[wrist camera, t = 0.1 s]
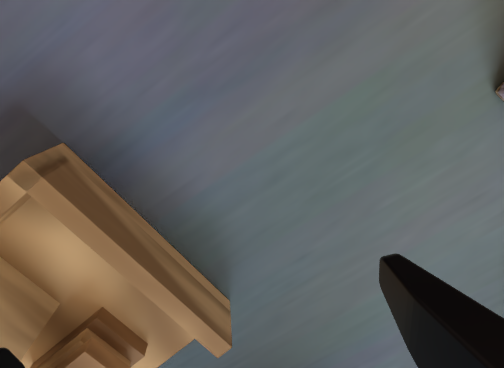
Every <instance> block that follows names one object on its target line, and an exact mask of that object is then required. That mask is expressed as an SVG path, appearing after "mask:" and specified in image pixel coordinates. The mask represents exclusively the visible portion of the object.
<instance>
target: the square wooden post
mask: <svg viewBox="0 0 504 368" xmlns="http://www.w3.org/2000/svg"><path fill="white" fill-rule="evenodd" d="M59 305H60V303H59V302H57V301H56V300H55V299H54V298H52V297H51V296H50V295H48V294H47V293H46V292H45V291H43V290H42V289H41V288H40V287H38V286H37V285H36V284H34V283H33V282H32V281H31V280H29V279H28V278H27V277H25V276H24V275H23V274H22V273H20V272H19V271H18V270H16V269H15V268H14V267H13V266H11V265H10V264H9V263H8V262H6V261H5V260H4V259H2V258H1V257H0V348H2V347H4V348H7V349H9V350H10V351H11V352H12V353H13V354H14V355H15V356H16V357H17V358H18V359H19V360H20V361H21V359H22V358H23V357H24V355H25V354H26V352H27V351H28V349H29V348H30V347H31V345H32V344H33V342H34V341H35V339H36V338H37V336H38V335H39V334H40V332H41V331H42V329H43V328H44V326H45V325H46V323H47V322H48V321H49V319H50V318H51V316H52V315H53V313H54V312H55V310H56V309H57V308H58V306H59Z"/></svg>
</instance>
